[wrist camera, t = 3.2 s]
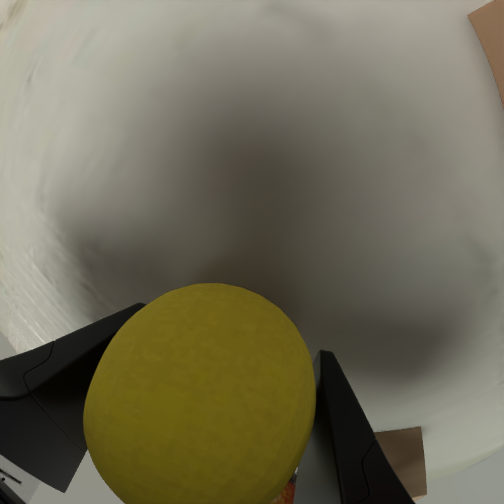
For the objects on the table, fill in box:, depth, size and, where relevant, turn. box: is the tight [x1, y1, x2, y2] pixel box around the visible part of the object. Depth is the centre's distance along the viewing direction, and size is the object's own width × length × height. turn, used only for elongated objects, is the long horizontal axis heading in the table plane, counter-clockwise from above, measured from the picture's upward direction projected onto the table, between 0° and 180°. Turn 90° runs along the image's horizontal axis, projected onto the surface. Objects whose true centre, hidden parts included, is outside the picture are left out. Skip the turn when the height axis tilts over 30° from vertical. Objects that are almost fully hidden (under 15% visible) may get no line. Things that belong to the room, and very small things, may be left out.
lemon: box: [83, 283, 316, 504], centre depth 6 cm, size 6×6×8 cm
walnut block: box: [374, 426, 427, 502], centre depth 11 cm, size 5×5×5 cm
